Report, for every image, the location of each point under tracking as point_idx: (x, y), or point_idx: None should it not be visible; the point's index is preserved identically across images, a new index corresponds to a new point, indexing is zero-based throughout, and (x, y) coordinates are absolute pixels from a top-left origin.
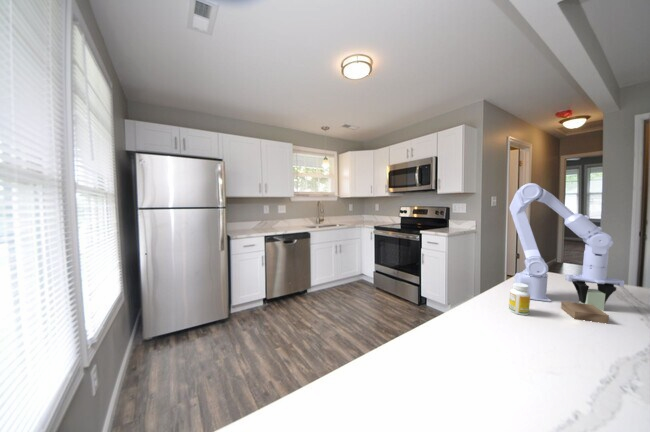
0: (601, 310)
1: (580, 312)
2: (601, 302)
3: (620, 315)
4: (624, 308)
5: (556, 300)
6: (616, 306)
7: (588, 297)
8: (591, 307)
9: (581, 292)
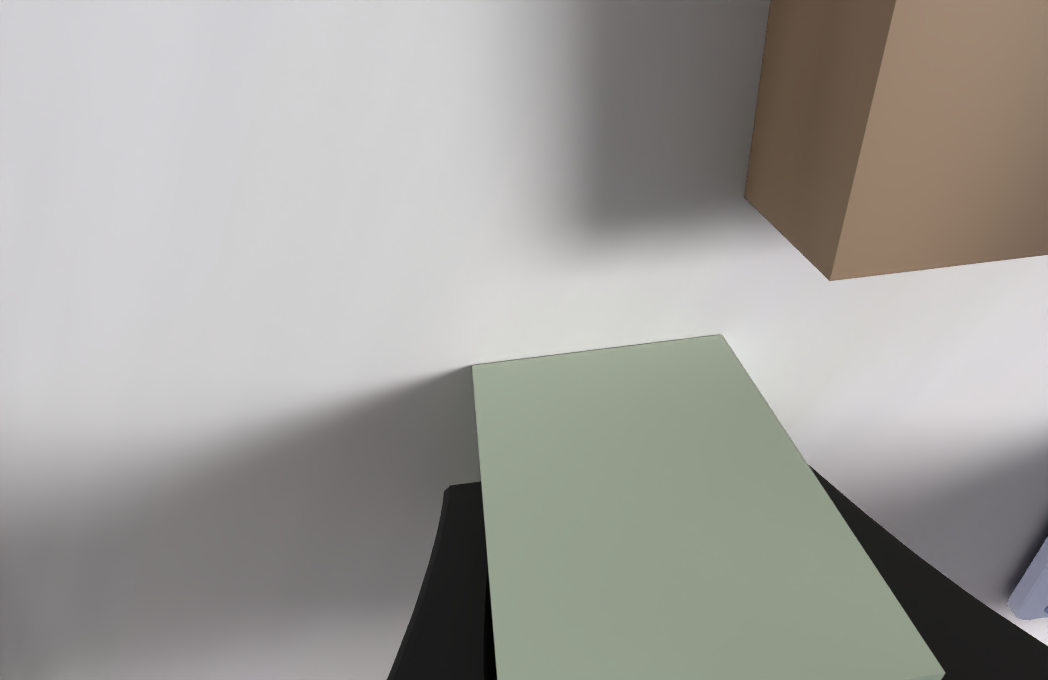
0: (507, 362)
1: None
2: (537, 488)
3: (256, 276)
4: (118, 601)
5: (968, 481)
6: (207, 620)
7: (831, 526)
8: (1029, 24)
9: (1026, 633)
